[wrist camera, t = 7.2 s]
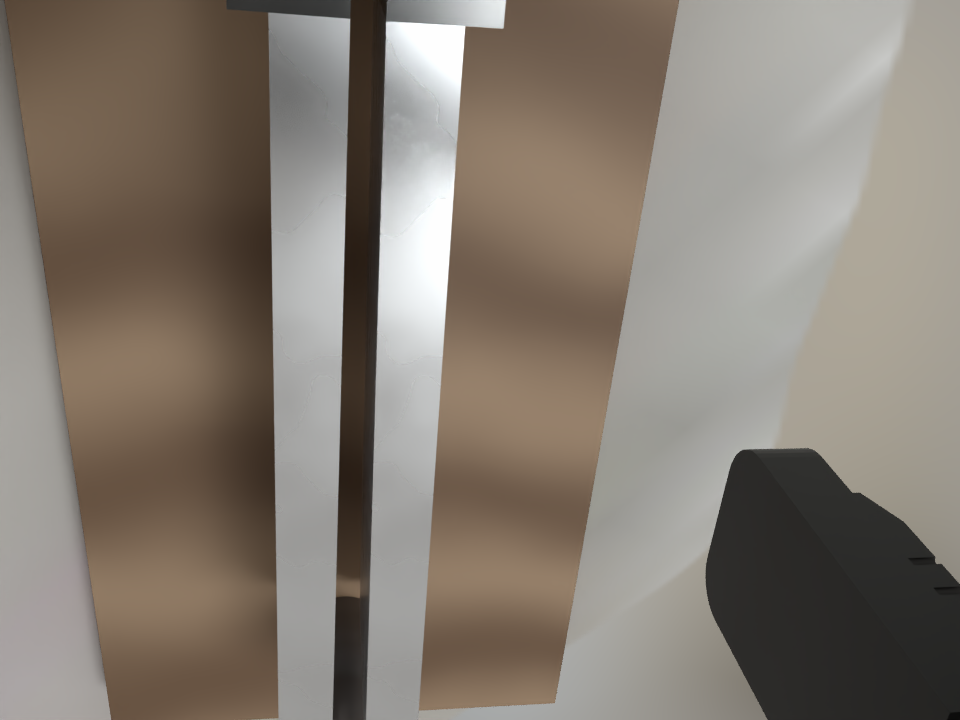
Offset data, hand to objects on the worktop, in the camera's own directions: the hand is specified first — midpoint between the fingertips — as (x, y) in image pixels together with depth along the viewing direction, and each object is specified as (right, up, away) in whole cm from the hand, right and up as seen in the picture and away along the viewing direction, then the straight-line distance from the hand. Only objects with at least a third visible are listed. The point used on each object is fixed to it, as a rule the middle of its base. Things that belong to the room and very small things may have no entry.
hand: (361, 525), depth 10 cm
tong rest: (-2, +4, +14) cm, 15 cm away
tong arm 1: (0, +3, +12) cm, 12 cm away
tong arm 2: (-3, +3, +12) cm, 12 cm away
